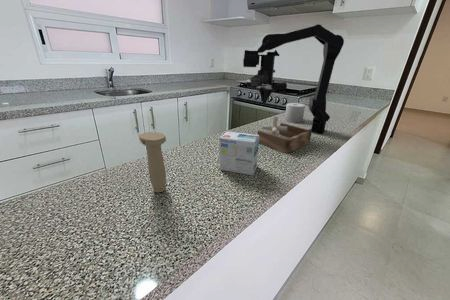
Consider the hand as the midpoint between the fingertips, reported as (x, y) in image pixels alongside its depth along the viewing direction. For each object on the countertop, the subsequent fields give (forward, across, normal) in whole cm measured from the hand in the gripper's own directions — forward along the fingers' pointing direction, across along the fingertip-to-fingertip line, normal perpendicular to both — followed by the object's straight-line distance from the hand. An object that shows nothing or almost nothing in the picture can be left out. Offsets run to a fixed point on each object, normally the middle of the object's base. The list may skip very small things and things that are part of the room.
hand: (264, 103), depth 98 cm
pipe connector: (+12, +13, -8) cm, 19 cm away
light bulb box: (+12, +21, -37) cm, 44 cm away
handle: (+12, +16, -61) cm, 64 cm away
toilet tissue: (+12, +1, +26) cm, 29 cm away
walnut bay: (+12, +17, -8) cm, 22 cm away
